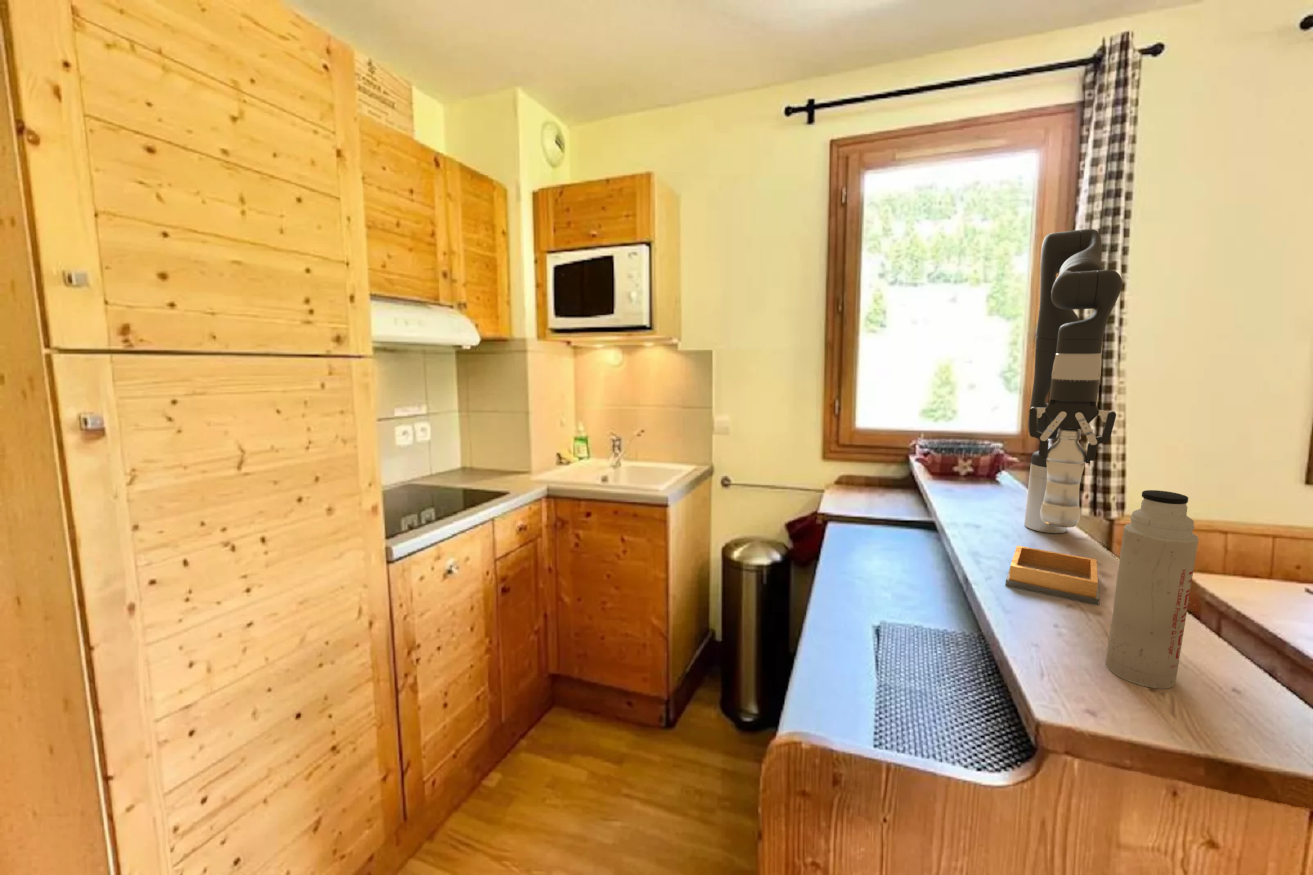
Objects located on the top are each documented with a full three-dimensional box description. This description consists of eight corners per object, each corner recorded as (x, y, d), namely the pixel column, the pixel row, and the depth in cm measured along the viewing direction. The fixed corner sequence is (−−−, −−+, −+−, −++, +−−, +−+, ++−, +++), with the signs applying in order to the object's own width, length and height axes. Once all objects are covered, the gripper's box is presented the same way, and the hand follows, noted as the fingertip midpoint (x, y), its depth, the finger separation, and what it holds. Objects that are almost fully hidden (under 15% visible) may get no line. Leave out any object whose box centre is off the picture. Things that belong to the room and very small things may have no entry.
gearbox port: (1012, 561, 125) (1014, 544, 124) (1097, 578, 116) (1099, 559, 115) (1005, 585, 113) (1007, 565, 113) (1098, 605, 104) (1101, 584, 104)
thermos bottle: (1186, 680, 81) (1217, 496, 77) (1156, 694, 78) (1186, 504, 73) (1123, 653, 89) (1147, 483, 84) (1093, 665, 85) (1117, 489, 81)
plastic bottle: (1085, 532, 109) (1098, 432, 106) (1047, 530, 110) (1058, 431, 107) (1068, 521, 115) (1080, 427, 112) (1032, 520, 117) (1042, 426, 113)
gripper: (1122, 376, 106) (1111, 461, 109) (1032, 375, 115) (1024, 453, 118) (1124, 379, 100) (1112, 468, 103) (1029, 377, 109) (1021, 459, 112)
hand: (1065, 460), depth 111 cm, fingers closed on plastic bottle, 6 cm apart
